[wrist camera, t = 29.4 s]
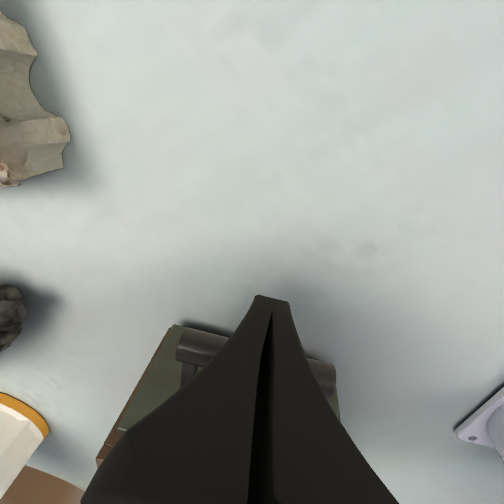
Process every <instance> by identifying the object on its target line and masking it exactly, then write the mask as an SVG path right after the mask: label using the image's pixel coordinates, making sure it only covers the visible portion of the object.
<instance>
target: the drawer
mask: <svg viewBox="0 0 504 504" xmlns="http://www.w3.org/2000/svg"><path fill="white" fill-rule="evenodd" d="M228 339H229V338H228V337H224V336H220V335H216V334H212V333H208V332H204V331H200V330H197V329H193V328H189V327H183V326H179V325H173V327H172V328H171V330H170V332H169V334H168V336H167V337H166V339H165V341H164V343H163V345H162V346H161V348H160V350H159V352H158V354H157V355H156V357H155V359H154V361H153V363H152V364H151V366H150V368H149V370H148V372H147V373H146V375H145V377H144V379H143V381H142V383H141V384H140V386H139V388H138V390H137V392H136V393H135V395H134V397H133V399H132V401H131V402H130V404H129V406H128V408H127V410H126V411H125V413H124V415H123V417H122V419H121V420H120V422H119V424H118V426H117V434H118V440H119V439H120V438H121V436H122V435H123V434H124V433H125V432H126V430H127V429H128V428H130V427H131V426H132V425H134V424H135V423H137V422H138V421H139V420H141V419H142V418H143V417H145V416H146V415H147V414H149V413H150V412H152V411H153V410H154V409H156V408H157V407H158V406H160V405H161V404H162V403H163V402H165V401H166V400H167V399H168V398H169V397H171V396H172V395H173V394H174V393H175V392H177V391H178V390H179V389H180V388H181V387H183V386H184V385H185V384H186V383H187V382H188V381H189V380H191V379H192V378H193V377H194V376H195V375H196V374H197V373H198V372H199V371H200V370H201V369H202V368H203V367H204V366H205V365H206V364H207V363H208V362H209V361H210V360H211V359H212V358H213V357H214V356H215V355H216V354H217V352H218V351H219V350H220V349H221V348H222V347H223V346H224V344H225V343H226V342H227V341H228ZM307 360H308V362H309V364H310V367H311V369H312V371H313V373H314V375H315V377H316V380H317V382H318V384H319V385H320V387H321V389H322V391H323V393H324V395H325V397H326V399H327V400H328V402H329V404H330V406H331V407H332V409H333V411H334V413H335V414H336V416H337V417H338V419H339V420H340V415H339V407H338V399H337V391H336V370H335V367H334V365H332V364H330V363H326V362H322V361H318V360H314V359H310V358H307Z"/></svg>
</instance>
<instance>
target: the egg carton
mask: <svg viewBox="0 0 504 504" xmlns="http://www.w3.org/2000/svg"><path fill="white" fill-rule="evenodd" d="M36 56H37V52H36V51H35V49H34V48H33V47H32V45H31V43H30V41H29V38H28V35H27V33H26V30H25V28H24V27H23V26H22V25H21V24H19V23H17V22H13V21H11V20H9V19H8V18H7V17H5V16H4V15H3V14H2V13H1V12H0V187H13V186H16V185H21V183H20V182H18V181H20V180H24V179H28V178H29V177H32V176H35V175H39V174H42V173H46V172H49V171H53V170H56V169H60V168H63V159H62V152H63V149H64V148H65V146H66V144H68V143H69V142H70V133H69V128H68V126H67V124H66V123H65V121H64V120H63V119H62V118H61V117H60V116H56V115H53V114H52V113H50V112H48V111H45V110H44V109H43V108H42V107H41V105H40V104H39V102H38V101H37V99H36V98H35V96H34V94H33V93H32V90H31V88H30V85H29V69H30V67H31V65H32V63H33V61H34V59H35V58H36Z"/></svg>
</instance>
